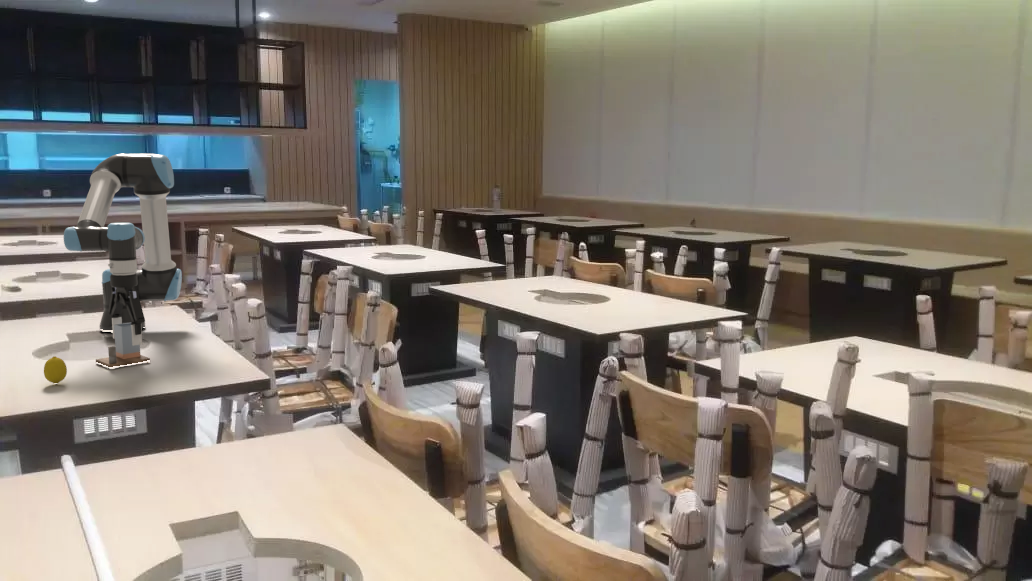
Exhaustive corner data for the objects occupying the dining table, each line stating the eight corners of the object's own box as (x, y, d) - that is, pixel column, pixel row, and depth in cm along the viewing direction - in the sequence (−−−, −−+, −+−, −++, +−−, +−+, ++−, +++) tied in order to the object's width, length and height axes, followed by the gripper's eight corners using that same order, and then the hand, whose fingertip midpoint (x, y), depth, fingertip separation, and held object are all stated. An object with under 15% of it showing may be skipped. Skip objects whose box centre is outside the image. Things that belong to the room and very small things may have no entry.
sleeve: (132, 353, 256) (131, 322, 254) (140, 356, 252) (138, 324, 251) (116, 356, 252) (114, 324, 250) (123, 359, 248) (121, 327, 247)
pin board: (135, 357, 257) (134, 337, 256) (150, 362, 250) (149, 342, 249) (96, 364, 248) (94, 343, 247) (110, 369, 241) (108, 348, 240)
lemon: (44, 388, 221) (42, 359, 220) (45, 383, 226) (43, 355, 225) (67, 385, 224) (65, 357, 222) (67, 381, 228) (66, 353, 227)
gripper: (93, 270, 253) (97, 337, 256) (129, 278, 237) (133, 349, 240) (118, 268, 259) (122, 333, 262) (154, 276, 243) (158, 345, 246)
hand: (127, 341), depth 251 cm, fingers open, 13 cm apart
